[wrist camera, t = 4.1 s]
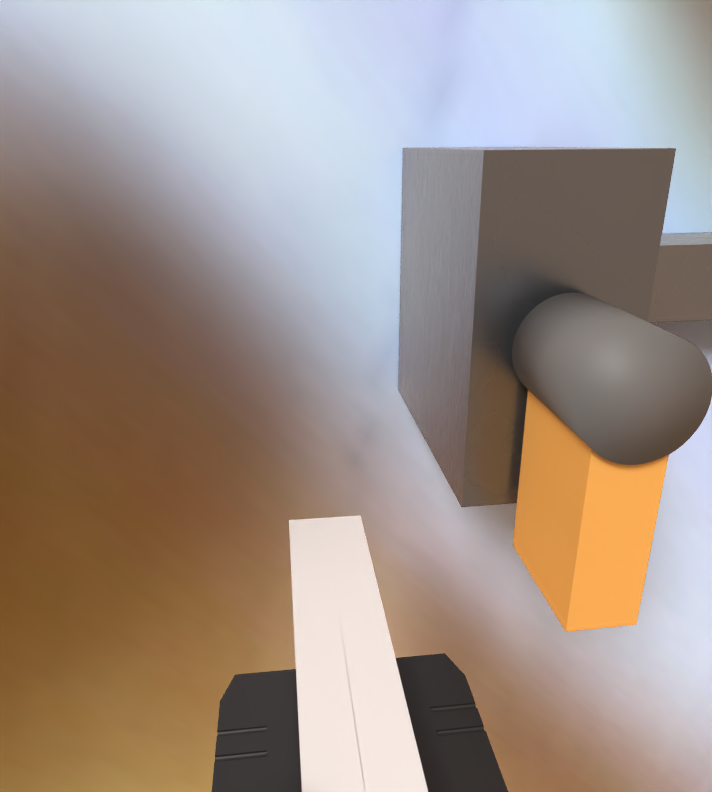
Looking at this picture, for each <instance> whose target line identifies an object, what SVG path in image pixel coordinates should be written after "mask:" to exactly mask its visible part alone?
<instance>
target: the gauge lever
mask: <svg viewBox="0 0 712 792" xmlns="http://www.w3.org/2000/svg"><path fill="white" fill-rule="evenodd" d="M512 363H513V367H514V370H515V373H516V375H517V377H518V379H519V380H520V382H521V383H522V384H523V385H524V386H525V387H526V388H527V389H528V396H527V406H526V416H525V426H524V436H523V446H522V457H521V467H520V477H519V487H518V497H517V508H516V518H515V528H514V538H513V547H514V548H515V550H516V551H517V553H518V555H519V556H520V558H521V560H522V561H523V563H524V564H525V566H526V568H527V569H528V571H529V573H530V574H531V576H532V577H533V579H534V581H535V582H536V584H537V586H538V587H539V589H540V590H541V592H542V594H543V595H544V597H545V599H546V600H547V602H548V603H549V605H550V607H551V608H552V610H553V612H554V613H555V615H556V616H557V618H558V620H559V621H560V623H561V625H562V626H563V628H564V629H565V631H566V632H568V631H578V630H587V629H597V628H607V627H617V626H627V625H636V623H637V618H638V613H639V607H640V602H641V597H642V592H643V587H644V581H645V576H646V571H647V566H648V560H649V555H650V550H651V545H652V540H653V534H654V529H655V524H656V519H657V514H658V508H659V503H660V498H661V493H662V487H663V482H664V477H665V472H666V467H667V461H668V456H669V454H670V453H672V452H673V451H675V450H676V449H678V448H679V447H680V446H682V445H683V444H684V443H685V442H686V441H687V440H688V439H689V438H690V437H691V436H692V435H693V434H694V432H695V431H696V430H697V429H698V427H699V426H700V424H701V423H702V421H703V419H704V417H705V415H706V413H707V410H708V408H709V405H710V401H711V397H712V373H711V369H710V366H709V364H708V362H707V359H706V358H705V356H704V355H703V353H702V352H701V351H700V350H699V349H698V348H697V347H696V346H695V345H693V344H692V343H691V342H689V341H687V340H685V339H683V338H681V337H679V336H677V335H675V334H673V333H670V332H668V331H666V330H664V329H662V328H660V327H658V326H655V325H653V324H651V323H649V322H647V321H645V320H643V319H640V318H638V317H636V316H634V315H632V314H630V313H627V312H625V311H623V310H621V309H619V308H617V307H615V306H612V305H610V304H608V303H606V302H604V301H602V300H600V299H597V298H595V297H593V296H591V295H588V294H584V293H573V292H571V293H563V294H559V295H556V296H553V297H550V298H548V299H547V300H545V301H543V302H541V303H540V304H538V305H537V306H536V307H535V308H534V309H532V310H531V311H530V312H529V314H528V315H527V316H526V317H525V318H524V320H523V321H522V322H521V324H520V326H519V328H518V330H517V332H516V335H515V338H514V341H513V346H512Z"/></svg>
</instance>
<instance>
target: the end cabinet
mask: <svg viewBox="0 0 712 792" xmlns="http://www.w3.org/2000/svg"><path fill="white" fill-rule="evenodd" d="M675 151H676V149H675V148H576V147H463V148H403V169H402V221H401V274H400V326H399V379H398V390H399V392H400V394H401V395H402V397H403V399H404V401H405V403H406V405H407V407H408V408H409V410H410V412H411V414H412V416H413V418H414V420H415V421H416V423H417V425H418V427H419V429H420V431H421V433H422V434H423V436H424V438H425V440H426V442H427V444H428V446H429V447H430V449H431V451H432V453H433V455H434V457H435V459H436V460H437V462H438V464H439V466H440V468H441V470H442V472H443V473H444V475H445V477H446V479H447V481H448V483H449V485H450V486H451V488H452V490H453V492H454V494H455V496H456V498H457V499H458V501H459V503H460V505H461V507H469V506H483V505H496V504H509V503H517V497H518V487H519V477H520V467H521V457H522V446H523V436H524V426H525V416H526V406H527V396H528V389H527V388H526V387H525V386H524V385H523V384H522V383H521V382H520V380H519V379H518V377H517V375H516V373H515V370H514V367H513V363H512V346H513V341H514V338H515V335H516V332H517V330H518V328H519V326H520V324H521V322H522V321H523V320H524V318H525V317H526V316H527V315H528V314H529V312H530V311H531V310H532V309H534V308H535V307H536V306H537V305H538V304H540V303H541V302H543V301H545V300H547V299H548V298H550V297H553V296H556V295H559V294H563V293H571V292H573V293H584V294H588V295H591V296H593V297H595V298H597V299H600V300H602V301H604V302H606V303H608V304H610V305H612V306H615V307H617V308H619V309H621V310H623V311H625V312H627V313H630V314H632V315H634V316H636V317H638V318H640V319H643V320H645V321H648V315H649V309H650V303H651V297H652V291H653V285H654V278H655V272H656V266H657V260H658V254H659V248H660V242H661V236H662V230H663V224H664V218H665V212H666V205H667V199H668V193H669V187H670V181H671V175H672V169H673V163H674V157H675Z"/></svg>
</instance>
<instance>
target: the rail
mask: <svg viewBox="0 0 712 792" xmlns="http://www.w3.org/2000/svg"><path fill="white" fill-rule="evenodd" d="M695 320H712V232H711V233H671V234H662V236H661V242H660V248H659V254H658V260H657V266H656V272H655V278H654V285H653V291H652V297H651V303H650V309H649V315H648V321H647V322H671V321H695Z"/></svg>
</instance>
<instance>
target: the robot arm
mask: <svg viewBox="0 0 712 792" xmlns="http://www.w3.org/2000/svg"><path fill="white" fill-rule="evenodd" d="M289 536H290V559H291V583H292V606H293V629H294V650H295V669H292V670H281V671H271V672H260V673H249V674H238V675H235V676H234V678H233V680H232V681H231V683H230V685H229V687H228V688H227V690H226V692H225V694H224V695H223V697H222V699H221V701H220V709H219V720H218V730H217V731H218V736H217V741H216V752H215V763H214V774H213V785H212V792H508V790H507V788H506V785H505V782H504V780H503V777H502V774H501V772H500V769H499V766H498V763H497V761H496V758H495V755H494V753H493V750H492V747H491V744H490V742H489V739H488V736H487V734H486V731H484V727H483V723H482V720H481V717H480V715H479V712H478V709H477V708H476V707H475V701H474V698H473V696H472V693H471V690H470V687H469V685H468V682H467V679H466V677H465V675H464V674H463V673H462V672H461V671H460V670H459V668H458V667H457V666H456V665H455V664H454V663H453V662H452V661H451V660H450V659H449V658H448V657H447V655H446V654H434V655H424V656H413V657H402V658H395V654H394V650H393V646H392V642H391V638H390V634H389V630H388V626H387V622H386V618H385V613H384V609H383V605H382V601H381V597H380V593H379V589H378V585H377V581H376V577H375V573H374V568H373V564H372V560H371V556H370V552H369V548H368V544H367V540H366V536H365V532H364V528H363V524H362V519H361V515H359V516H344V517H329V518H314V519H298V520H289Z"/></svg>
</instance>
